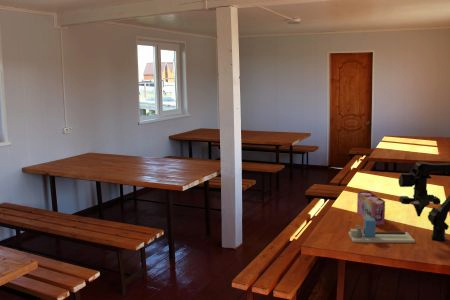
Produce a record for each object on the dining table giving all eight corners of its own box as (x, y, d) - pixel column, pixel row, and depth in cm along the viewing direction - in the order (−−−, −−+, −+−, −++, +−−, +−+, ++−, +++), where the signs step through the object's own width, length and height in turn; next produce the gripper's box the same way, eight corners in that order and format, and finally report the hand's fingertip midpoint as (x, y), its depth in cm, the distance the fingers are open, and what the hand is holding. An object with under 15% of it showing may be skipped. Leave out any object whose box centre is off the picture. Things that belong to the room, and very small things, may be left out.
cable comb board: (406, 234, 246) (407, 223, 245) (414, 242, 234) (415, 230, 233) (348, 233, 248) (348, 222, 246) (353, 242, 236) (353, 230, 235)
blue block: (373, 233, 243) (373, 218, 241) (375, 236, 239) (375, 220, 237) (363, 233, 243) (363, 218, 242) (365, 236, 239) (365, 220, 237)
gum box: (385, 225, 260) (387, 202, 258) (372, 226, 260) (373, 202, 257) (368, 212, 284) (369, 191, 281) (356, 213, 283) (357, 191, 281)
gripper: (406, 190, 227) (405, 221, 230) (445, 190, 226) (443, 221, 229) (399, 185, 238) (398, 214, 241) (437, 185, 237) (435, 214, 240)
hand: (418, 216), depth 237 cm, fingers closed
